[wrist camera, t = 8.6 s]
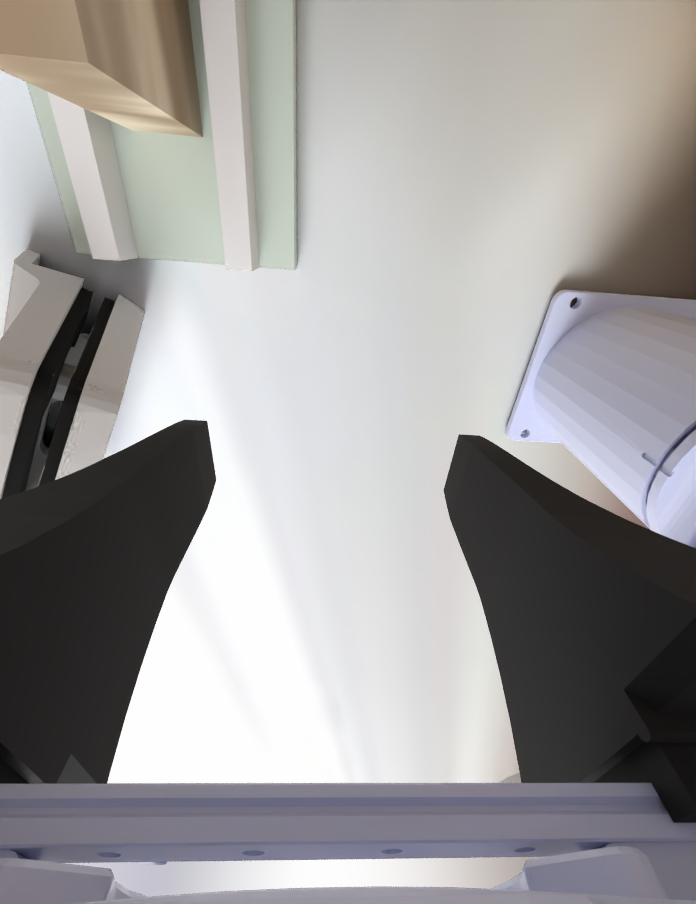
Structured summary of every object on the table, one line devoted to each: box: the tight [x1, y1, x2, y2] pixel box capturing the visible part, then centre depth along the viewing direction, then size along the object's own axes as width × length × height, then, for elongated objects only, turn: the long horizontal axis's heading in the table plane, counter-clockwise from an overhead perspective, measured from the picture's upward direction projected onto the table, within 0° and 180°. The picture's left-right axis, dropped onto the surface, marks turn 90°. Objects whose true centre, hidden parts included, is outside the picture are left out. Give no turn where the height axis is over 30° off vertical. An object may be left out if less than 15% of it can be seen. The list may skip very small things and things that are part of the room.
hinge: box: [0, 249, 145, 499], centre depth 17 cm, size 17×5×10 cm, turn 147°
